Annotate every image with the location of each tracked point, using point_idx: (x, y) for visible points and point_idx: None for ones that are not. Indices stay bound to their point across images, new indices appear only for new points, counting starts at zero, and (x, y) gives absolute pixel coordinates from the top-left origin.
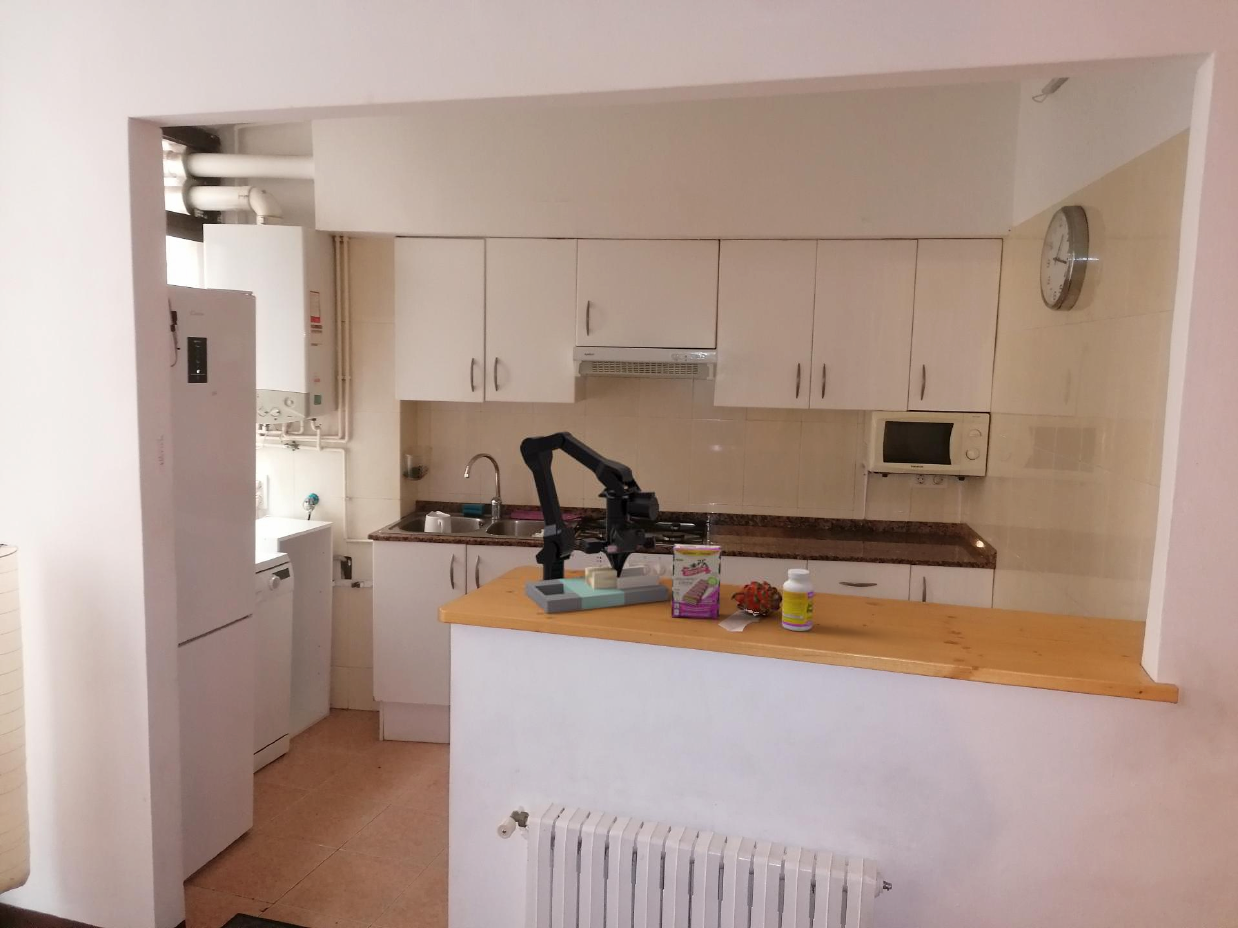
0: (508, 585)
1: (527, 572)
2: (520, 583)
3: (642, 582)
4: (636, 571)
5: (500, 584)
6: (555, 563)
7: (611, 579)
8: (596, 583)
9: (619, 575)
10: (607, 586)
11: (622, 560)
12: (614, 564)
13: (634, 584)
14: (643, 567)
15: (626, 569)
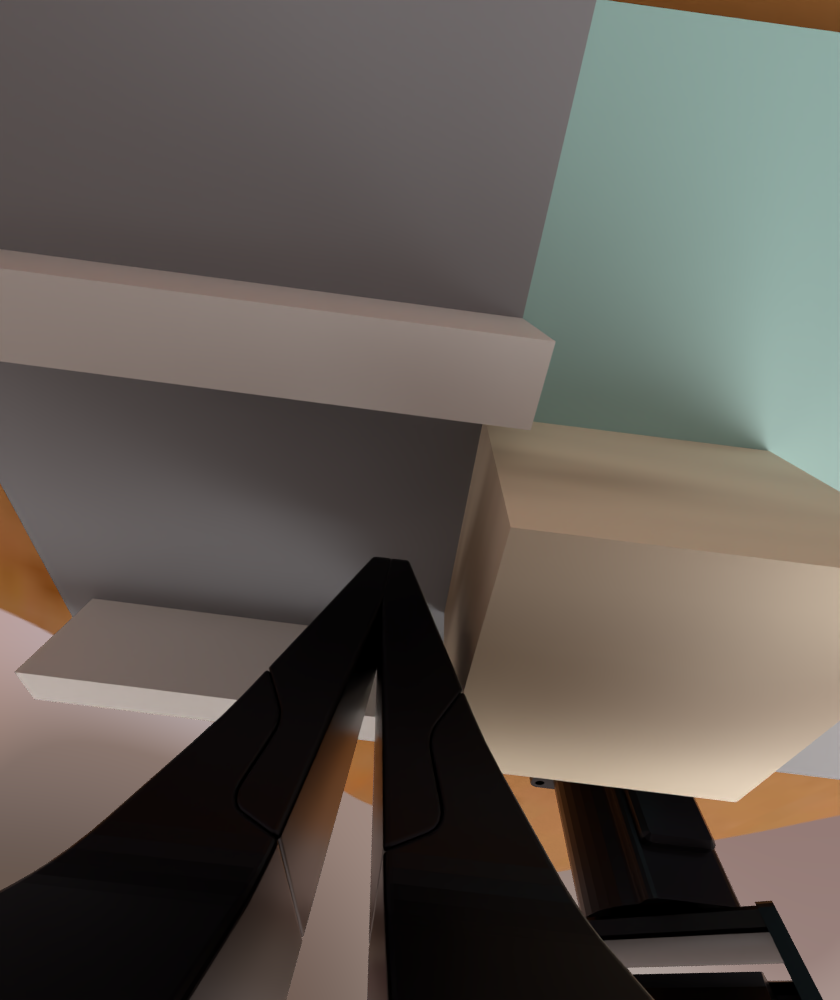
0: (771, 805)
1: (563, 856)
2: (704, 804)
3: (131, 272)
4: (128, 646)
5: (781, 820)
6: (721, 913)
7: (580, 466)
8: (791, 477)
9: (374, 567)
10: (607, 436)
11: (267, 772)
12: (465, 718)
13: (274, 288)
14: (26, 666)
15: (215, 685)
